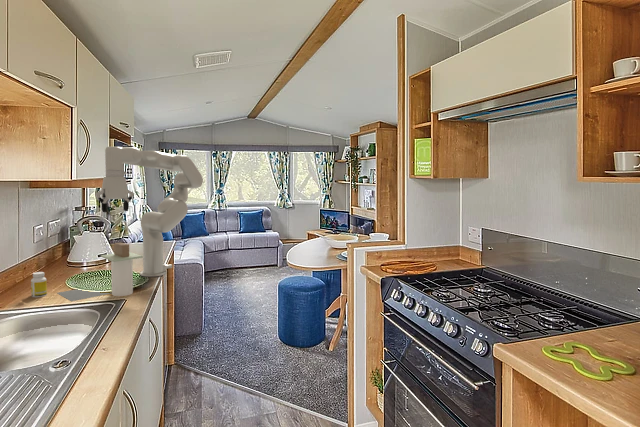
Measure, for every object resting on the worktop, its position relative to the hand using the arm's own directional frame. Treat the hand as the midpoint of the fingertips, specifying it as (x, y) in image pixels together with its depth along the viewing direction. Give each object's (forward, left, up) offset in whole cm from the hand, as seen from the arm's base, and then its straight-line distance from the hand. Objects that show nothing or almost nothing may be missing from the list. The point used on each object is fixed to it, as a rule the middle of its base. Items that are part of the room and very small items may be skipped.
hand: (115, 211), depth 203 cm
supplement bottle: (+32, 0, -34) cm, 46 cm away
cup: (+7, +20, -34) cm, 39 cm away
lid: (+7, +20, -17) cm, 27 cm away
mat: (+18, +9, -33) cm, 39 cm away
